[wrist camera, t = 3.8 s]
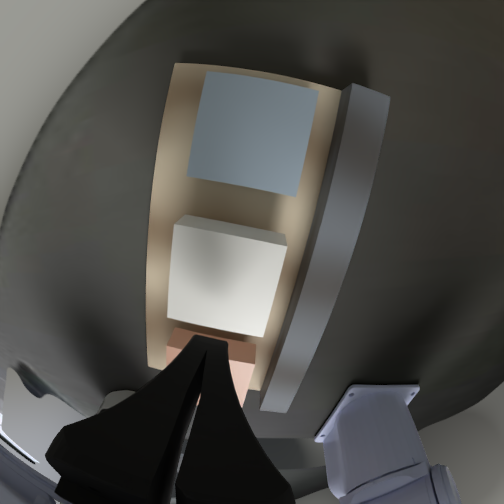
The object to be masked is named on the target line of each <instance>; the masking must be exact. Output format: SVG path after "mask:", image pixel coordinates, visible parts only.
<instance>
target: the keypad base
mask: <svg viewBox="0 0 504 504" xmlns="http://www.w3.org/2000/svg"><path fill="white" fill-rule="evenodd" d="M207 71H210V72H220V73H229V74H237V75H244V76H251V77H257V78H263V79H268V80H273V81H278V82H283V83H288V84H292V85H297V86H301V87H305V88H309V89H313V90H317V91H319V93H318V98H317V103H316V108H315V113H314V118H313V123H312V128H311V132H310V137H309V142H308V146H307V151H306V155H305V160H304V164H303V169H302V173H301V178H300V182H299V186H298V191H297V195H296V197H293V196H288V195H284V194H279V193H274V192H270V191H265V190H260V189H255V188H250V187H245V186H239V185H234V184H229V183H223V182H218V181H212V180H206V179H200V178H194V177H188V176H187V169H188V163H189V157H190V151H191V145H192V140H193V134H194V129H195V124H196V118H197V113H198V109H199V104H200V99H201V94H202V90H203V86H204V81H205V77H206V73H207ZM389 104H390V97H389V96H387V95H384V94H382V93H379V92H377V91H374V90H371V89H369V88H366V87H363V86H360V85H358V84H355V83H352V84H350V85H349V86H347V87H346V88H345V89H343V90H342V91H341V90H338V89H334V88H331V87H327V86H324V85H320V84H316V83H313V82H309V81H305V80H301V79H296V78H292V77H287V76H283V75H278V74H273V73H267V72H261V71H255V70H249V69H242V68H235V67H226V66H217V65H205V64H190V63H175V65H174V69H173V73H172V77H171V82H170V86H169V91H168V95H167V100H166V105H165V110H164V115H163V120H162V125H161V131H160V137H159V143H158V149H157V156H156V163H155V171H154V178H153V187H152V196H151V206H150V217H149V230H148V246H147V269H146V335H147V357H148V366H149V367H152V368H156V369H159V370H163V369H165V368H166V346H167V343H168V341H169V339H170V337H171V335H172V333H173V330H174V328H175V327H176V328H180V329H185V330H189V331H193V332H198V333H202V334H207V335H211V336H216V337H221V338H226V339H231V340H236V341H242V342H247V343H253V344H256V358H255V367H254V370H253V373H252V377H251V380H250V383H249V387H248V389H253V390H259V391H260V410H263V411H272V412H281V413H286V412H287V410H288V408H289V406H290V404H291V402H292V400H293V398H294V396H295V394H296V392H297V390H298V388H299V386H300V384H301V382H302V380H303V378H304V375H305V373H306V371H307V369H308V367H309V365H310V362H311V360H312V358H313V356H314V353H315V351H316V349H317V346H318V344H319V342H320V339H321V337H322V335H323V332H324V330H325V327H326V325H327V322H328V320H329V317H330V315H331V312H332V310H333V307H334V304H335V302H336V299H337V296H338V294H339V291H340V288H341V286H342V283H343V280H344V277H345V274H346V271H347V268H348V266H349V263H350V260H351V257H352V254H353V250H354V247H355V244H356V241H357V238H358V235H359V231H360V228H361V225H362V221H363V218H364V214H365V211H366V207H367V204H368V200H369V196H370V192H371V189H372V185H373V181H374V177H375V173H376V168H377V164H378V160H379V155H380V151H381V146H382V141H383V137H384V131H385V126H386V121H387V115H388V110H389ZM185 214H186V215H191V216H197V217H202V218H207V219H212V220H218V221H223V222H228V223H233V224H238V225H243V226H248V227H253V228H258V229H263V230H268V231H273V232H278V233H282V234H285V237H286V242H287V246H288V247H287V251H286V254H285V258H284V262H283V266H282V270H281V274H280V278H279V281H278V285H277V289H276V292H275V296H274V300H273V304H272V307H271V311H270V314H269V318H268V322H267V325H266V329H265V332H264V336H263V337H257V336H252V335H246V334H241V333H236V332H230V331H225V330H220V329H216V328H211V327H206V326H202V325H197V324H193V323H188V322H184V321H180V320H176V319H172V318H168V317H167V310H168V290H169V275H170V262H171V250H172V239H173V229H174V224H175V223H176V222H177V221H178V220H179V219H180V218H182V217H183V216H184V215H185Z"/></svg>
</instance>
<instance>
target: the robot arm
mask: <svg viewBox="0 0 504 504" xmlns="http://www.w3.org/2000/svg"><path fill="white" fill-rule="evenodd" d="M419 389H420V387H419V385H351V386H350V387H349V388H348V389H347V391H346V392H345V394H344V396H343V397H342V399H341V400H340V402H339V403H338V405H337V406H336V408H335V409H334V411H333V412H332V414H331V415H330V417H329V418H328V420H327V421H326V423H325V424H324V425H323V427H322V428H321V430H320V431H319V432H318V434H317V435H316V436H315V438H314V440H315V442H323V447H324V454H325V462H326V470H327V479H328V485H329V488H330V490H331V492H332V493H333V494H334V495H335V496H336V497H337V498H338V499H339V503H340V504H462V503H461V500H460V496H459V493H458V490H457V487H456V484H455V482H454V479H453V477H452V475H451V473H450V471H449V469H448V467H447V466H444V465H440V464H436V465H435V466H433V467H432V466H431V465H430V464H429V461H428V458H427V456H426V453H425V450H424V447H423V445H422V442H421V439H420V437H419V434H418V432H417V429H416V427H415V424H414V422H413V419H412V417H411V414H410V412H409V409H408V407H407V405H408V404H409V403H410V401H411V400H412V399H413V397H414V396H415V395H416V394H417V392H418V391H419ZM200 393H201V394H200ZM199 396H200V399H199ZM198 399H199V403H198V407H197V410H196V414H195V418H194V421H193V425H192V429H191V432H190V436H189V439H188V443H187V446H186V450H185V453H184V456H183V460H182V463H181V466H180V470H179V473H178V477H177V480H176V483H175V487H176V488H175V489H176V504H295V499H294V495H293V492H292V489H291V486H290V484H289V483H288V482H287V481H286V479H285V478H284V477H283V476H282V475H281V474H280V472H279V471H278V470H277V469H276V467H275V466H274V465H273V463H272V462H271V460H270V459H269V458H268V456H267V455H266V453H265V452H264V450H263V449H262V447H261V445H260V444H259V442H258V440H257V439H256V437H255V435H254V433H253V431H252V429H251V427H250V425H249V423H248V421H247V419H246V417H245V415H244V412H243V410H242V407H241V405H240V402H239V399H238V396H237V393H236V390H235V386H234V383H233V379H232V374H231V370H230V364H229V356H228V343H227V341H224V340H219V339H215V338H210V337H206V336H202V335H197V334H195V335H193V336H192V338H191V339H190V341H189V342H188V343H187V345H186V346H185V347H184V348H183V349H182V351H181V352H180V353H179V354H178V355H177V356H176V357H175V358H174V359H173V360H172V361H171V363H170V364H169V365H168V366H167V367H166V368H165V369H163V370H162V371H161V372H160V373H159V374H158V375H157V376H156V377H155V378H153V379H152V380H151V381H150V382H149V383H147V384H146V385H145V386H143V387H142V388H141V389H139V390H138V391H137V392H135V393H134V394H132V395H131V396H129V397H127V398H126V399H124V400H123V401H121V402H119V403H118V404H116V405H114V406H112V407H110V408H108V409H106V410H104V411H102V412H100V413H98V414H96V415H94V416H91V417H89V418H86V419H84V420H81V421H78V422H75V423H73V424H70V425H67V426H64V427H63V428H62V429H61V430H60V432H59V433H58V434H57V435H56V437H55V438H54V440H53V441H52V443H51V445H50V447H49V449H48V451H47V452H46V454H45V457H46V460H47V461H48V463H49V464H50V465H51V466H52V467H53V468H54V469H55V470H56V471H57V472H58V473H59V474H60V476H61V478H60V480H59V483H58V484H56V483H55V482H53V481H51V480H50V479H48V478H47V477H45V476H43V475H42V474H40V473H39V472H37V471H36V470H34V469H32V468H31V467H30V466H28V465H27V464H25V463H24V462H23V461H21V460H20V459H18V458H17V457H16V456H14V455H13V454H12V453H10V452H9V451H8V450H7V449H5V448H4V447H3V446H2V445H0V504H56V502H55V500H57V501H58V502H60V503H62V504H170V500H171V495H172V490H173V485H174V481H175V476H176V472H177V467H178V463H179V458H180V454H181V450H182V446H183V442H184V439H185V435H186V433H187V430H188V427H189V424H190V421H191V419H192V416H193V413H194V410H195V407H196V405H197V402H198ZM54 499H55V500H54Z"/></svg>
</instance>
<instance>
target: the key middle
mask: <svg viewBox="0 0 504 504" xmlns="http://www.w3.org/2000/svg"><path fill="white" fill-rule="evenodd" d="M287 247H288V246H287V242H286V237H285V234H282V233H278V232H273V231H268V230H263V229H258V228H253V227H248V226H243V225H238V224H233V223H228V222H223V221H218V220H212V219H207V218H202V217H197V216H191V215H186V214H185V215H184V216H183V217H182V218H180V219H179V220H178V221H177V222H176V223H175V224H174V229H173V239H172V250H171V262H170V275H169V290H168V310H167V317H168V318H172V319H176V320H180V321H184V322H188V323H193V324H197V325H202V326H206V327H211V328H216V329H220V330H225V331H230V332H236V333H241V334H246V335H252V336H257V337H263V336H264V332H265V329H266V325H267V322H268V318H269V314H270V311H271V307H272V304H273V300H274V296H275V292H276V289H277V285H278V281H279V278H280V274H281V270H282V266H283V262H284V258H285V254H286V251H287Z"/></svg>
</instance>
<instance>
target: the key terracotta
mask: <svg viewBox="0 0 504 504" xmlns="http://www.w3.org/2000/svg"><path fill="white" fill-rule="evenodd" d="M195 334H197V335H202V336H206V337H210V338H215V339H219V340H224V341H227V343H228V356H229V364H230V370H231V374H232V379H233V383H234V386H235V390H236V393H237V396H238V399H239V402H240V405H241V407H242V406H243V403H244V400H245V396H246V393H247V390H248V387H249V383H250V380H251V377H252V373H253V370H254V367H255V358H256V344H253V343H247V342H242V341H236V340H231V339H226V338H221V337H216V336H211V335H207V334H202V333H198V332H193V331H189V330H185V329H180V328H176V327H175V328H174V330H173V333H172V335H171V337H170V339H169V341H168V343H167V346H166V367H167V366H168V365H169V364H170V363H171V361H172V360H173V359H174V358H175V357H176V356H177V355H178V354H179V353H180V352H181V351H182V349H183V348H184V347H185V346H186V345H187V343H188V342H189V341H190V339H191V338H192V336H193V335H195ZM200 394H201V393H200ZM199 399H200V396H199ZM199 399H198V402H197V405H198V403H199Z"/></svg>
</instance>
